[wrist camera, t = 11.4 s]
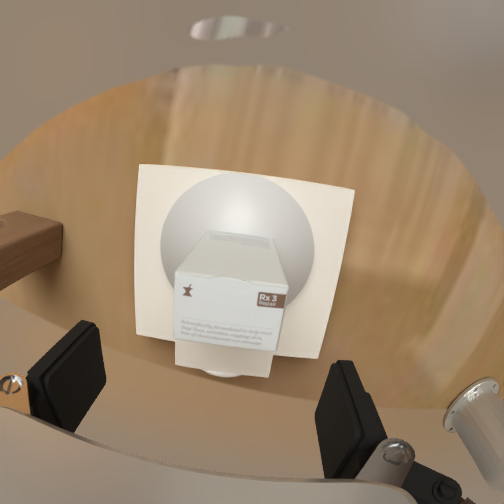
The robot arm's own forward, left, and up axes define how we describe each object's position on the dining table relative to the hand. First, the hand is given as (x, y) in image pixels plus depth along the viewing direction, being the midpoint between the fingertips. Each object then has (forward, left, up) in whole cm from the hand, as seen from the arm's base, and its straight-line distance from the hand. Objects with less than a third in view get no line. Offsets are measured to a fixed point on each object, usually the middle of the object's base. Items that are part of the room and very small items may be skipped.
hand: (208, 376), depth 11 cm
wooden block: (+26, +2, -21) cm, 34 cm away
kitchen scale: (0, +2, -21) cm, 21 cm away
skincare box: (0, 0, -17) cm, 17 cm away
